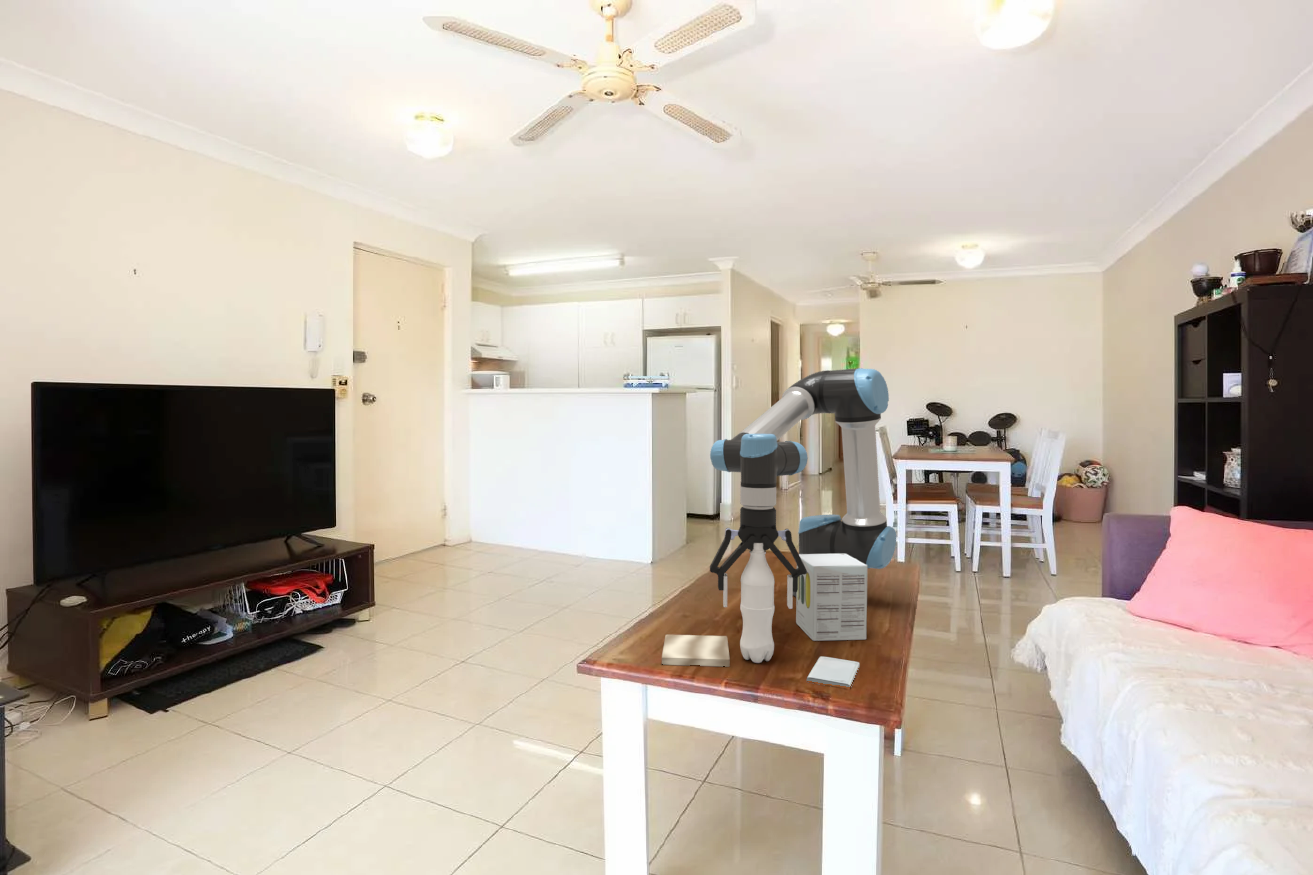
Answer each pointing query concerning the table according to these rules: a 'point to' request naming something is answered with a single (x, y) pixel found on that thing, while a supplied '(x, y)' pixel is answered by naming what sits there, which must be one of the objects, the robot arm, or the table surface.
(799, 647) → the table surface
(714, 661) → the flat beige metallic box
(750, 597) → the water bottle
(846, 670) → the white spiral notebook
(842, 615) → the supplement box
